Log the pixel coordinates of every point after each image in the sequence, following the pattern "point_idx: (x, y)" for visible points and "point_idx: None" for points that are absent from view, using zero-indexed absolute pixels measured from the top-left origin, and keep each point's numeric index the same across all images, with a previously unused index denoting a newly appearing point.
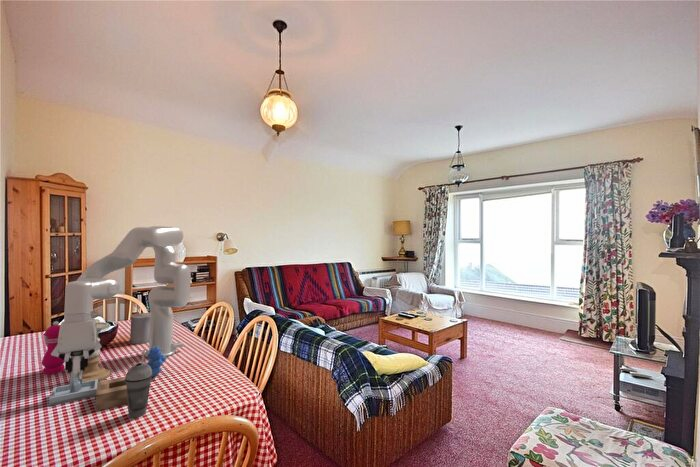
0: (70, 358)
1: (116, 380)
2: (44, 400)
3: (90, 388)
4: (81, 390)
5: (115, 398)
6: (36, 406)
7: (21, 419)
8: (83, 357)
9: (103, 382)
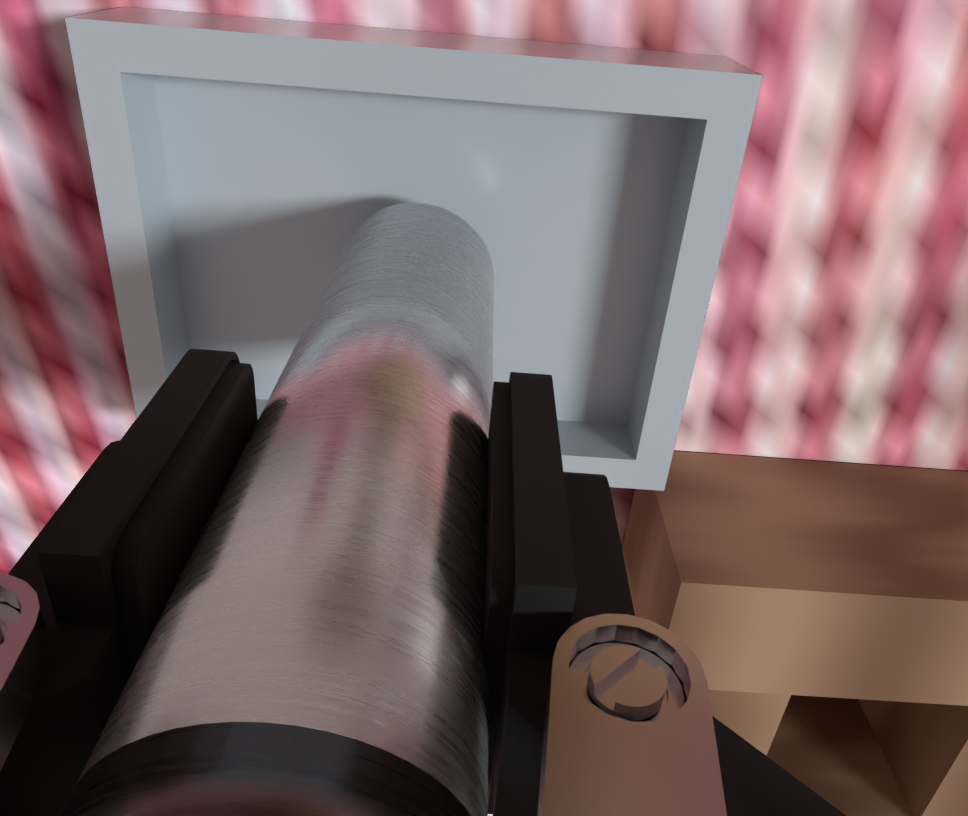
0: (105, 720)
1: (895, 666)
2: (66, 167)
3: (608, 236)
4: (493, 235)
5: None
6: (36, 313)
7: (13, 541)
8: (498, 807)
9: (742, 637)
